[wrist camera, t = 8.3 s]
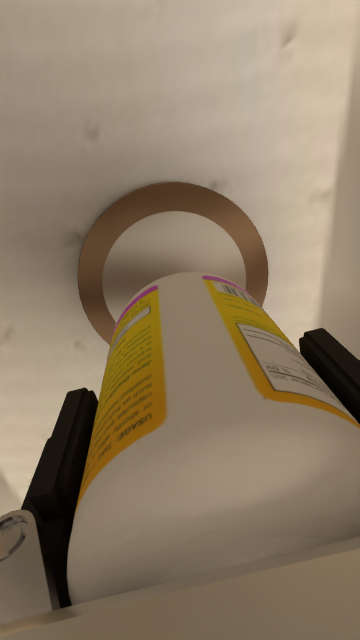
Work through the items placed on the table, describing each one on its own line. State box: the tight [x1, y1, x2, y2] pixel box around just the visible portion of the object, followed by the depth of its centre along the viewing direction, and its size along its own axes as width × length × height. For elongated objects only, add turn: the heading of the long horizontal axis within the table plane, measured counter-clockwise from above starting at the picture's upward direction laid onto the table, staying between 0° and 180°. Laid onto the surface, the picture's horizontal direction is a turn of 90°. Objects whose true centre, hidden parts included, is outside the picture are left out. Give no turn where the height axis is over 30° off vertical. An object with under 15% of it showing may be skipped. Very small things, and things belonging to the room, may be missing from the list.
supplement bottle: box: [67, 272, 360, 606], centre depth 9 cm, size 7×7×13 cm
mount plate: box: [78, 182, 268, 345], centre depth 22 cm, size 12×12×2 cm
